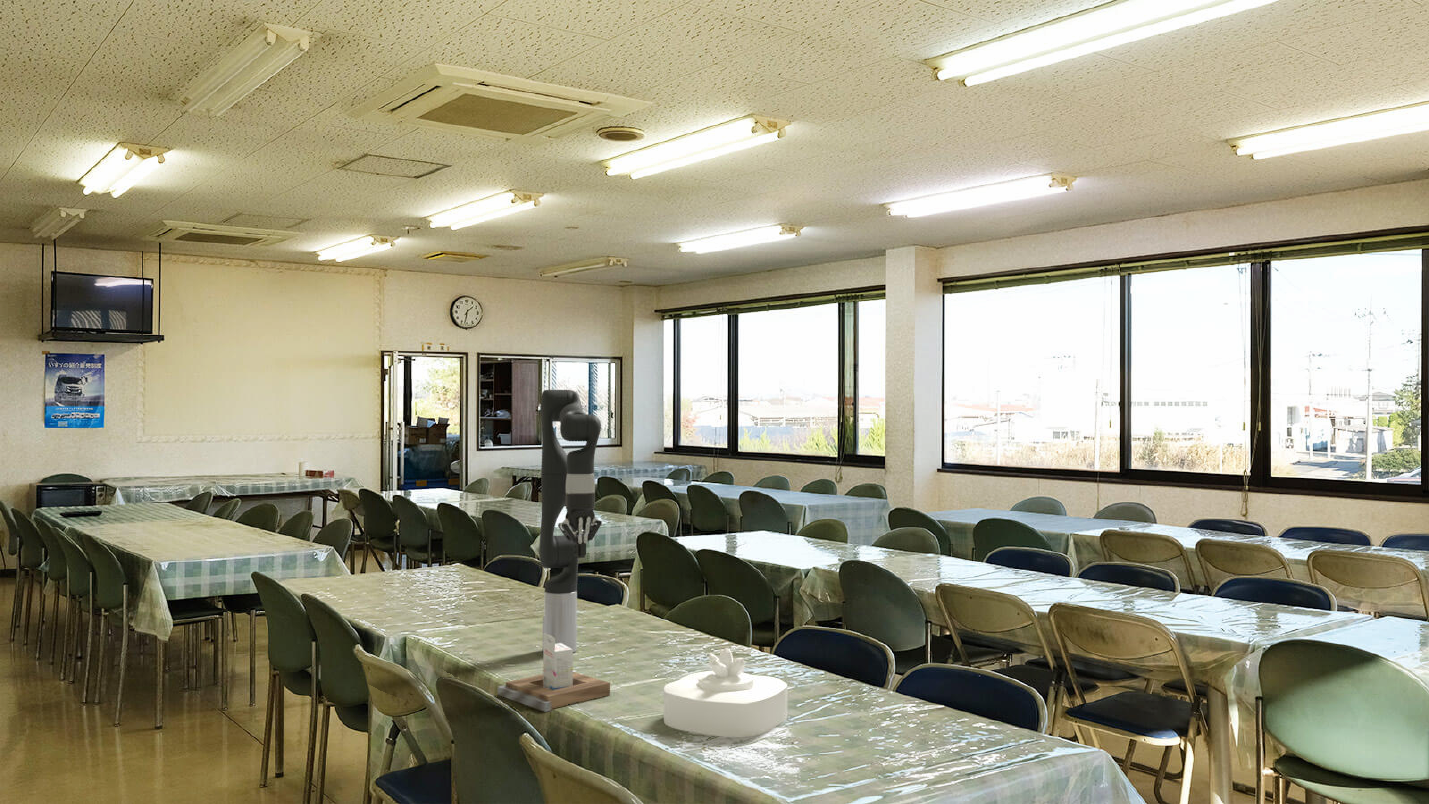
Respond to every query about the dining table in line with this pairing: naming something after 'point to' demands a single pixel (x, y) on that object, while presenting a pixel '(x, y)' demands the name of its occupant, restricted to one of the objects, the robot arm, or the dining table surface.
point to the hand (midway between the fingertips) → (580, 557)
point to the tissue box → (725, 700)
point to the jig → (553, 691)
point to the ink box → (557, 664)
